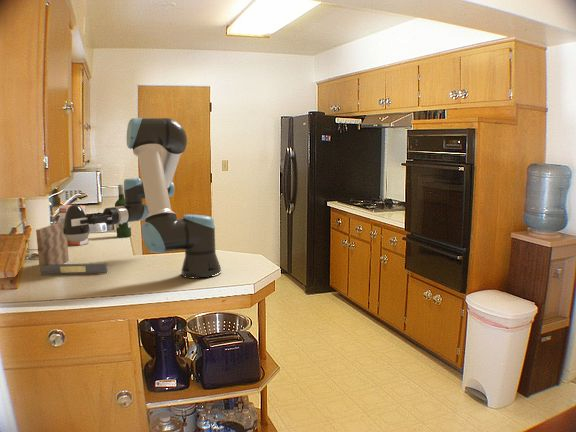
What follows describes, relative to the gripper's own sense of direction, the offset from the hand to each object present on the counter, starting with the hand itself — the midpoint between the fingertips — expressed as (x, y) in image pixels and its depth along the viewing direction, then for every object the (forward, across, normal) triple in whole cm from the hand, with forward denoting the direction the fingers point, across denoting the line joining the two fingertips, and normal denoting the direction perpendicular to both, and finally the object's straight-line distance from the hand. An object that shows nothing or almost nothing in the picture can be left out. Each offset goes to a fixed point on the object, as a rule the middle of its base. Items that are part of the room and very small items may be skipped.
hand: (65, 222), depth 205 cm
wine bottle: (-62, +57, -21) cm, 87 cm away
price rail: (+1, -6, -20) cm, 21 cm away
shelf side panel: (-1, +14, -20) cm, 25 cm away
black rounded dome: (-4, 0, -9) cm, 10 cm away
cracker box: (-34, +60, -21) cm, 72 cm away
